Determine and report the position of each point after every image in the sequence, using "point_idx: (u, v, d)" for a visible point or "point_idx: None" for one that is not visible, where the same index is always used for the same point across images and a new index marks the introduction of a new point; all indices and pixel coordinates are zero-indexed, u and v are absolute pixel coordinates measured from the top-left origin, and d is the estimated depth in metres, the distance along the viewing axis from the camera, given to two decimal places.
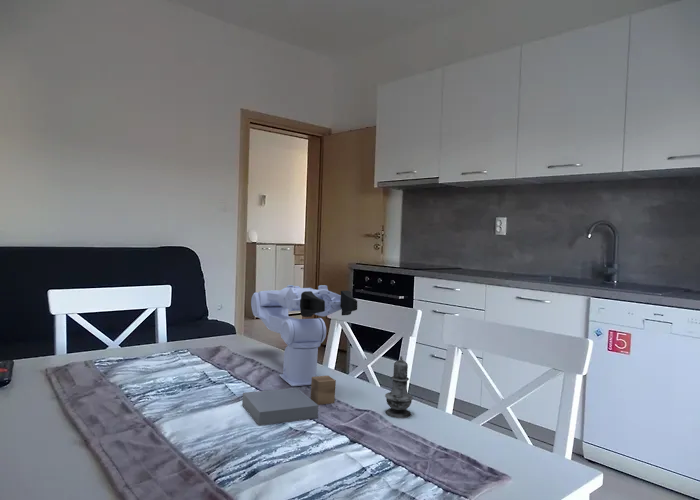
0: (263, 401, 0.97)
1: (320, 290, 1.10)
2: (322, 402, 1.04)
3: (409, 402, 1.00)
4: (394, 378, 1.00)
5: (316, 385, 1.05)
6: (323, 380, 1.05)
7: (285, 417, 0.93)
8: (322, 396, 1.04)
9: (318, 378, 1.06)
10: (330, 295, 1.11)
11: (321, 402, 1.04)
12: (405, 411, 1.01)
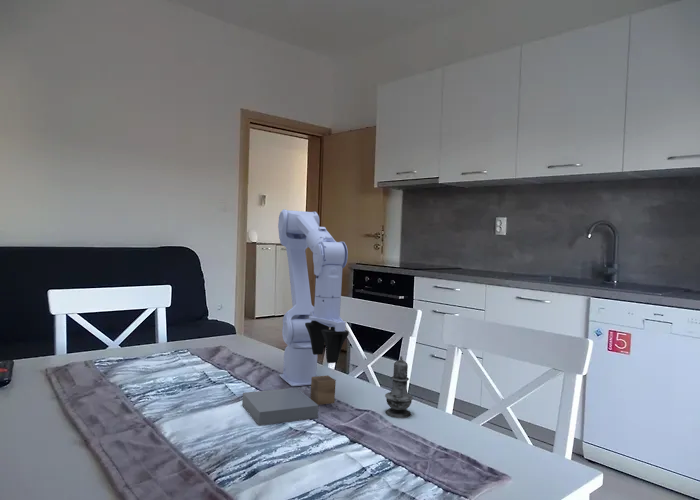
0: (263, 401, 0.97)
1: None
2: (322, 402, 1.04)
3: (409, 402, 1.00)
4: (394, 378, 1.00)
5: (316, 385, 1.05)
6: (323, 380, 1.05)
7: (285, 417, 0.93)
8: (322, 396, 1.04)
9: (318, 378, 1.06)
10: None
11: (321, 402, 1.04)
12: (405, 411, 1.01)
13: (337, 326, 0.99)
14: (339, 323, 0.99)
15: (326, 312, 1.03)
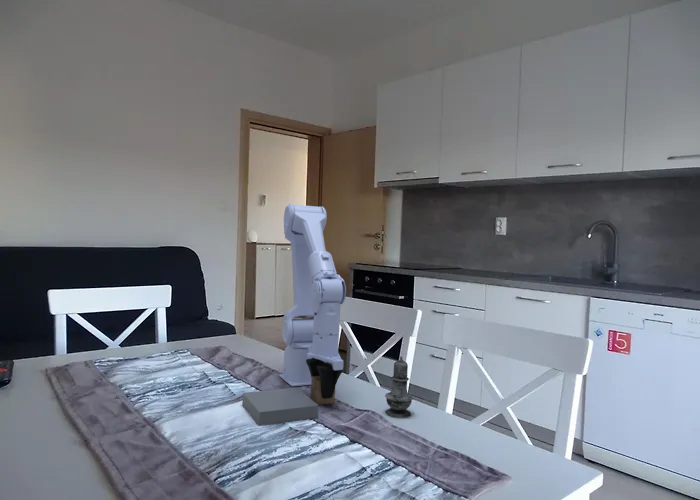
0: (263, 401, 0.97)
1: None
2: (322, 402, 1.04)
3: (409, 402, 1.00)
4: (394, 378, 1.00)
5: (316, 385, 1.05)
6: None
7: (285, 417, 0.93)
8: None
9: (318, 378, 1.06)
10: None
11: (321, 402, 1.04)
12: (405, 411, 1.01)
13: (335, 365, 1.00)
14: (337, 362, 1.00)
15: (324, 349, 1.03)
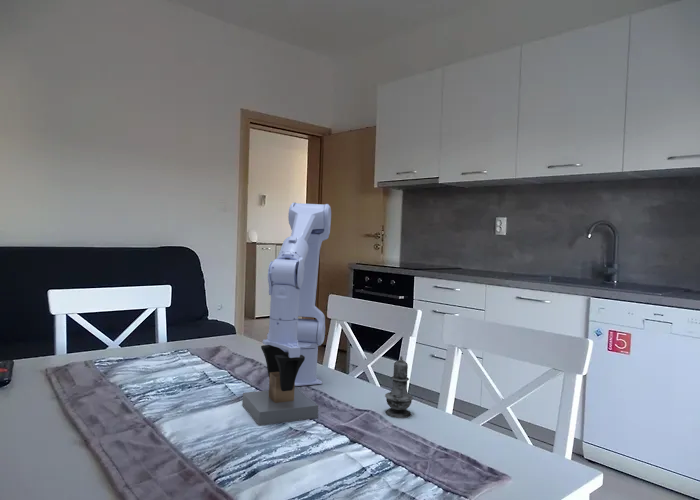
0: (263, 401, 0.97)
1: None
2: (280, 400, 0.97)
3: (409, 402, 1.00)
4: (394, 378, 1.00)
5: (274, 382, 0.97)
6: None
7: (285, 417, 0.93)
8: (280, 393, 0.97)
9: (277, 374, 0.99)
10: None
11: (279, 400, 0.97)
12: (405, 411, 1.01)
13: (291, 352, 0.92)
14: (293, 349, 0.92)
15: (281, 336, 0.96)
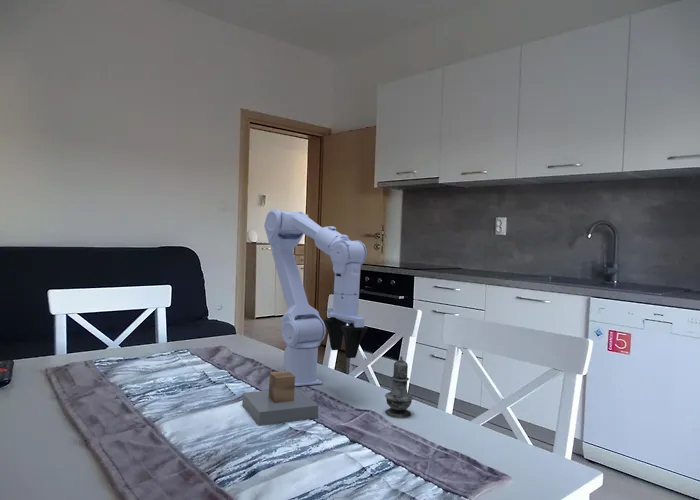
0: (263, 401, 0.97)
1: None
2: (280, 400, 0.97)
3: (409, 402, 1.00)
4: (394, 378, 1.00)
5: (274, 382, 0.97)
6: (281, 376, 0.97)
7: (285, 417, 0.93)
8: (280, 393, 0.97)
9: (277, 374, 0.99)
10: None
11: (279, 400, 0.97)
12: (405, 411, 1.01)
13: (356, 322, 1.03)
14: (358, 319, 1.03)
15: (345, 308, 1.06)
